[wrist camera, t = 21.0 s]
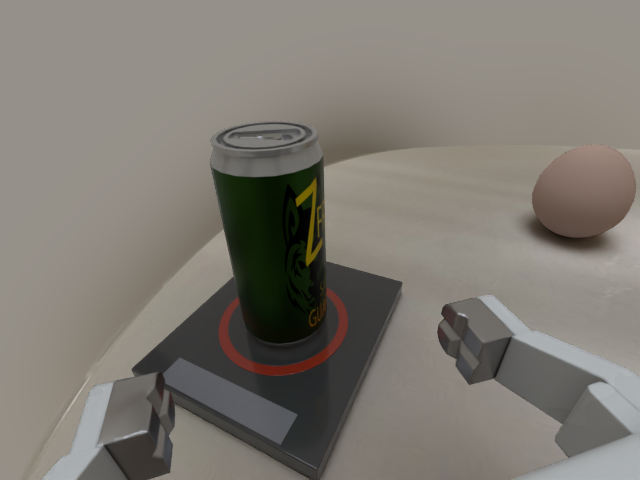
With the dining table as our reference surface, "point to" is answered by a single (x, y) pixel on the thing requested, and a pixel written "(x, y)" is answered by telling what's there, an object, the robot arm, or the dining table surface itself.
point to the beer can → (274, 226)
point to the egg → (584, 191)
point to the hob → (278, 369)
